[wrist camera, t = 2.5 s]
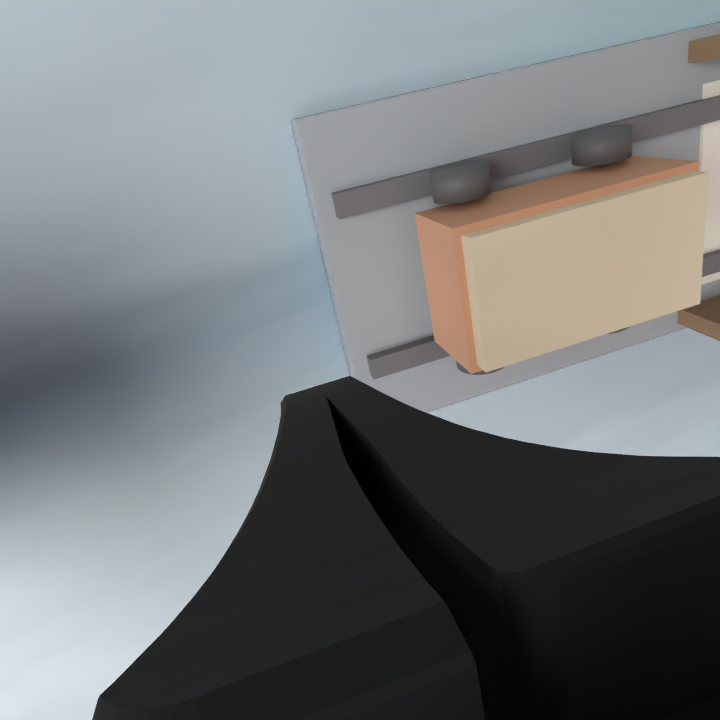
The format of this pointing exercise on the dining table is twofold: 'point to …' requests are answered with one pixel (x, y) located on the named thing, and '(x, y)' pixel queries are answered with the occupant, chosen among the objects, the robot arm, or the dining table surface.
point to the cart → (560, 251)
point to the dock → (507, 169)
